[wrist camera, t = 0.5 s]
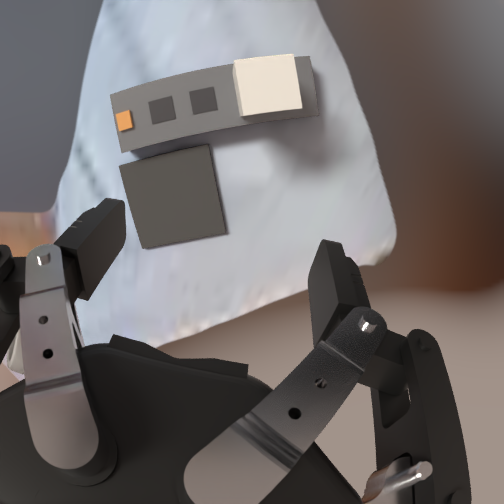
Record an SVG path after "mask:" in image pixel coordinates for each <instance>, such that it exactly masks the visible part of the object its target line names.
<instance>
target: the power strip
mask: <svg viewBox="0 0 504 504" xmlns="http://www.w3.org/2000/svg"><path fill="white" fill-rule="evenodd" d="M294 60H295V66H296V71H297V77H298V83H299V89H300V96H301V102H302V108H300V109H292V110H283V111H275V112H267V113H260V114H253V115H247V116H240V113H239V107H238V101H237V96H236V90H235V84H234V79H233V73H232V72H233V64H229V65H223V66H217V67H212V68H206V69H201V70H197V71H192V72H188V73H183V74H179V75H175V76H171V77H167V78H163V79H159V80H156V81H152V82H149V83H145V84H142V85H138V86H135V87H132V88H129V89H126V90H123V91H120V92H117V93H114V94H111V95H110V98H111V104H112V109H113V114H114V119H115V124H116V129H117V134H118V139H119V143H120V148H121V152H122V153H124V152H127V151H131V150H134V149H138V148H141V147H145V146H149V145H153V144H156V143H160V142H164V141H168V140H173V139H177V138H181V137H185V136H190V135H195V134H199V133H204V132H209V131H214V130H219V129H225V128H230V127H236V126H242V125H248V124H254V123H261V122H268V121H276V120H283V119H292V118H301V117H311V116H319V112H318V104H317V98H316V91H315V85H314V79H313V73H312V67H311V61H310V56H303V57H294Z"/></svg>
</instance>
